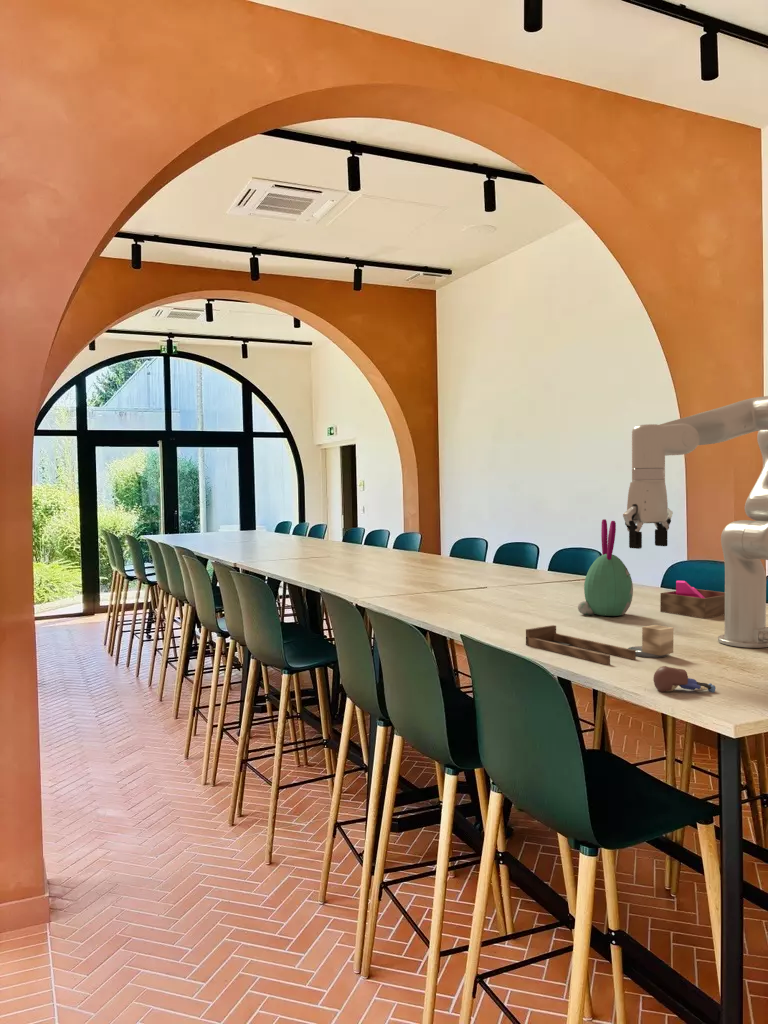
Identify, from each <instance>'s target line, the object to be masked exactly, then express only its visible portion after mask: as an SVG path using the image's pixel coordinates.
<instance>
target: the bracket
mask: <svg viewBox="0 0 768 1024" xmlns="http://www.w3.org/2000/svg"><path fill="white" fill-rule="evenodd" d="M696 589H697V588H695V587H694V586H691V585H690V584H689V583H688V582H687V581H685V580H676V581H675V591H676V595H682V596H689V597H697V598H705V597H704V596H703V595H702V594H701V593H699V592H698V591H697V590H696Z"/></svg>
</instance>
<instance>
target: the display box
mask: <svg viewBox="0 0 768 1024" xmlns="http://www.w3.org/2000/svg"><path fill="white" fill-rule="evenodd" d="M695 589H696V590H697V591H698V592H699V593H701V594H702V595H703V596H704V597H705V598H697V597H689V596H682V595H676V590H673V591H667V592H660V601H659V602H660V606H659V607H660V612H662V613H667V614H668V613H669V614H674V615H682V616H687V617H694V618H701V619H709V618H714V617H719V616H725V591H724V592H723V591H716V590H715V591H714V590H709V589H706V590H705V589H698V588H695Z"/></svg>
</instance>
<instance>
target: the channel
mask: <svg viewBox="0 0 768 1024" xmlns="http://www.w3.org/2000/svg"><path fill="white" fill-rule="evenodd" d="M525 645H526V646H530V647H533V648H537V649H541V650H545V651H550V652H554V653H558V654H562V655H566V656H570V657H574V658H578V659H583V660H585V661H586V660H587V661H592V662H595V663H599V664H603V665H606V666H607V665H610V664H611V656H617V657H621V658H624V659H629V660H636V657H637V656H636V650H631V649H628V648H626V647H622V646H618V645H617V646H616V645H612V644H608V643H603V642H598V641H594V640H589V639H585V638H580V637H575V636H570V635H565V634H561V633H557V625H554V624H551V625H547V626H546V625H545V626H540V627H531V628H526V629H525Z"/></svg>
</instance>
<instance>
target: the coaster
mask: <svg viewBox="0 0 768 1024" xmlns="http://www.w3.org/2000/svg"><path fill="white" fill-rule="evenodd" d="M627 649H631V650H636V657H639V658H649V659H651V658H653V659H654V658H657V659H658V658H664V657H665V658H666V657H667V656H668V654H666V655H661V656H660V655H655V654H650V653H646V652H642V645H637V646H636V645H635V646H629V647H628V648H627Z"/></svg>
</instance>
